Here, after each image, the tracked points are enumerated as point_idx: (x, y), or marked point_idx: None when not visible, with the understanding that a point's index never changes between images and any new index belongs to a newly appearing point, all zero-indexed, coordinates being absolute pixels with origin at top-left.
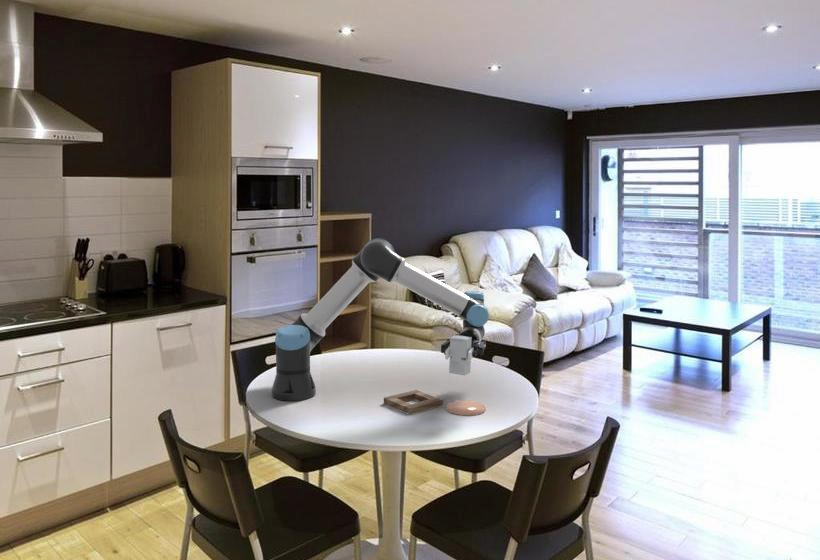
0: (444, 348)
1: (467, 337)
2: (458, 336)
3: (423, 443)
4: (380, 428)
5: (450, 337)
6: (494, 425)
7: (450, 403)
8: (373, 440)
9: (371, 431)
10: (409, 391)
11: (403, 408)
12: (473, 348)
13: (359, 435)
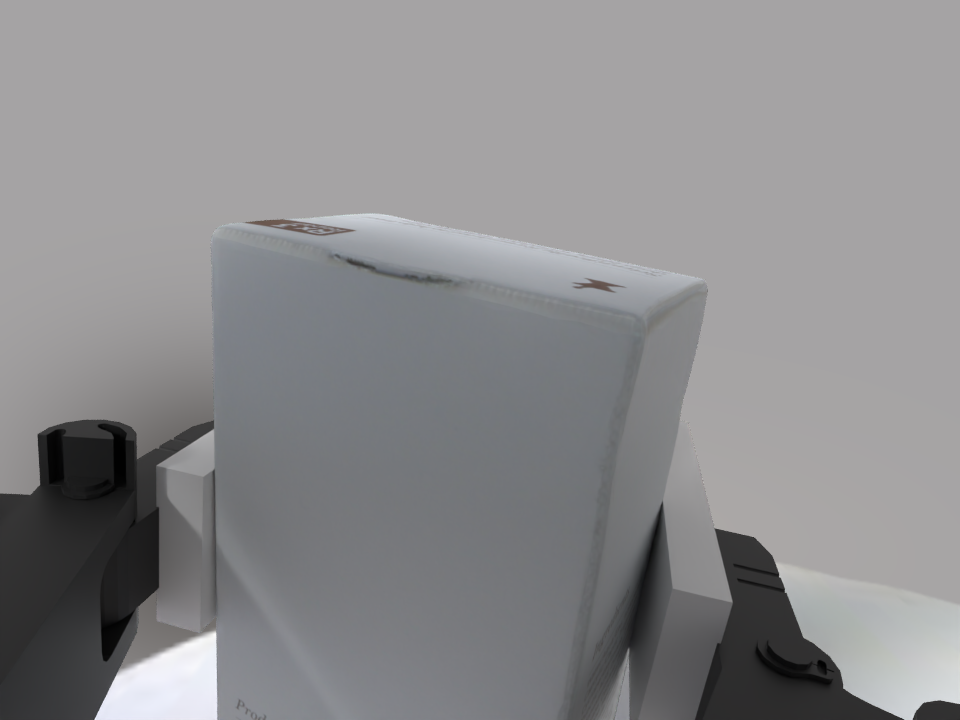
0: (852, 713)
1: (334, 223)
2: (535, 255)
3: None
4: (875, 699)
5: (705, 282)
6: (192, 692)
7: None
8: (813, 591)
9: (891, 669)
10: None
11: None
12: (167, 469)
13: (910, 635)
